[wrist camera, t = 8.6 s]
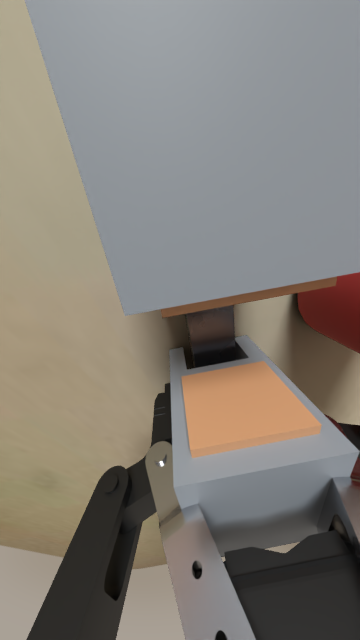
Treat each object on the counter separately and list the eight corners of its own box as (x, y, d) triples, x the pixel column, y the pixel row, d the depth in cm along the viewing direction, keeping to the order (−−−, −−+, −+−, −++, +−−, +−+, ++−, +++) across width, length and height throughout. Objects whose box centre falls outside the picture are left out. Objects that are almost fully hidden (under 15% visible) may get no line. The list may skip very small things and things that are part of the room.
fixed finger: (154, 280, 10) (131, 335, 3) (124, 145, 7) (-166, -600, 1) (242, 264, 10) (394, 285, 3) (239, 125, 7) (723, -734, 1)
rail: (200, 403, 14) (205, 427, 12) (156, 148, 8) (153, 114, 6) (229, 398, 14) (238, 420, 12) (209, 138, 8) (223, 102, 6)
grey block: (183, 409, 13) (199, 561, 7) (168, 344, 11) (170, 479, 4) (247, 397, 13) (326, 536, 7) (246, 329, 11) (362, 441, 4)
